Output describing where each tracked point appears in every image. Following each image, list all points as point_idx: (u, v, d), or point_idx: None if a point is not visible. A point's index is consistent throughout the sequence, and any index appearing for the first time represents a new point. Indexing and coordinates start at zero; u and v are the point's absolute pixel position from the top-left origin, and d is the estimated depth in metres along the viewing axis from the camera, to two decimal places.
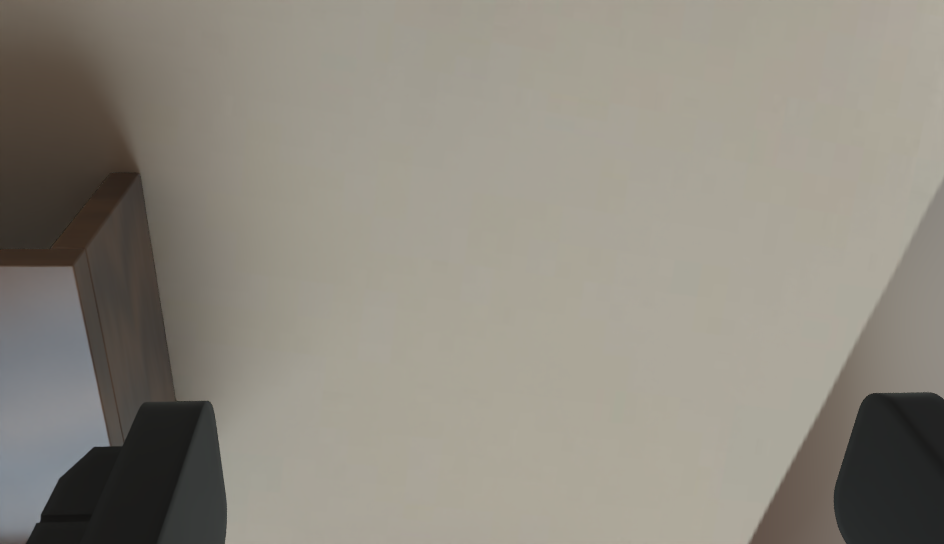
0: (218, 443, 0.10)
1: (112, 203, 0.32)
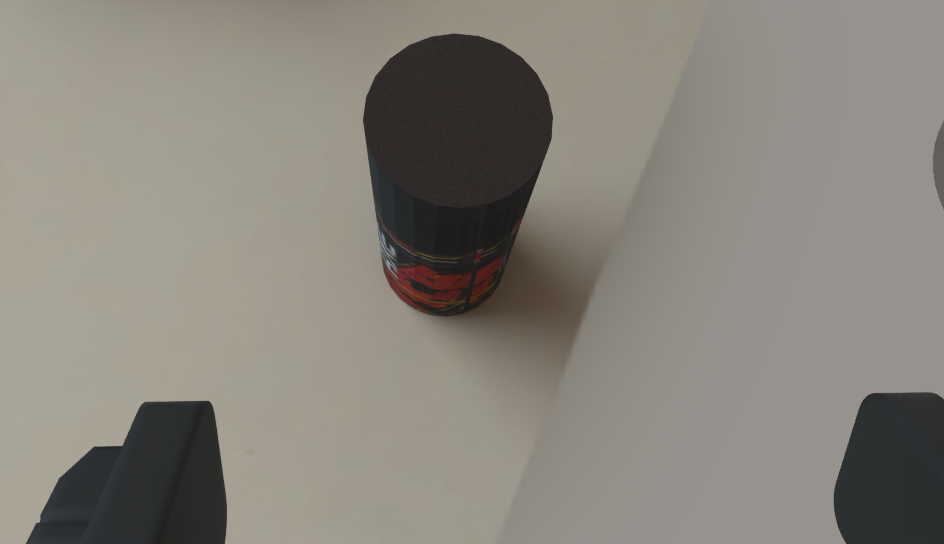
0: (218, 443, 0.10)
1: None
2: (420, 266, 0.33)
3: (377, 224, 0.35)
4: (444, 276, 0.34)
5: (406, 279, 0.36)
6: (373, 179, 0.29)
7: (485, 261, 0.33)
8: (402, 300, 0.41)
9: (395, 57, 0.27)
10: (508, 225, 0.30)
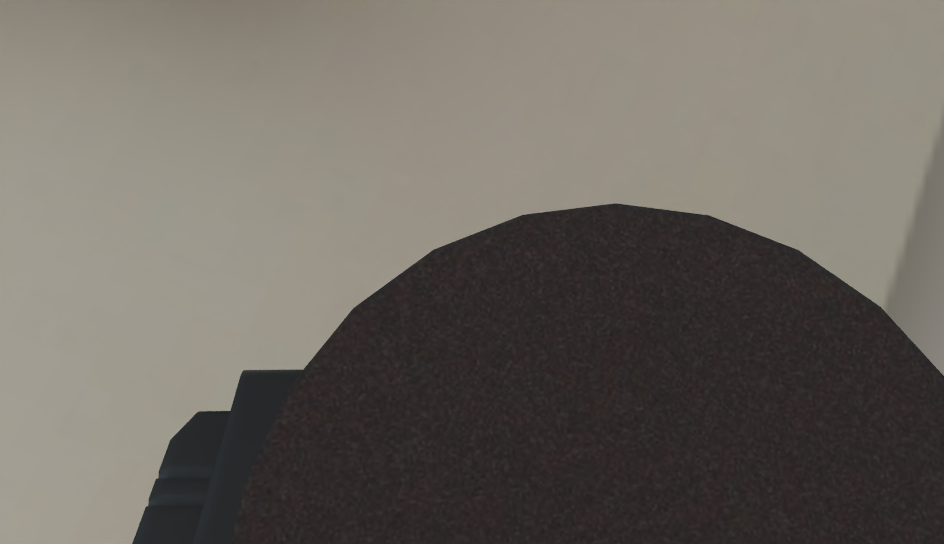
0: None
1: None
2: None
3: None
4: None
5: None
6: None
7: None
8: None
9: (378, 304, 0.07)
10: None
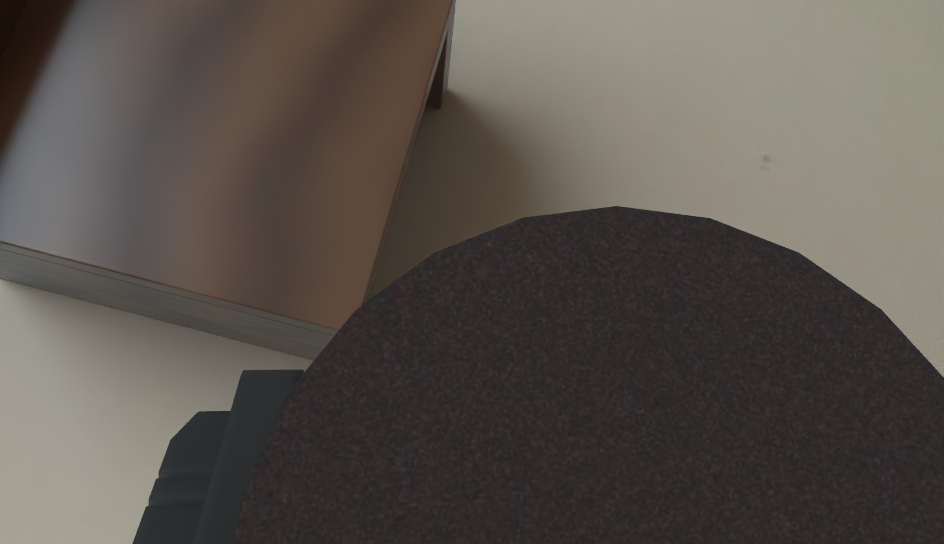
0: None
1: None
2: None
3: None
4: None
5: None
6: None
7: None
8: None
9: (379, 307, 0.07)
10: None
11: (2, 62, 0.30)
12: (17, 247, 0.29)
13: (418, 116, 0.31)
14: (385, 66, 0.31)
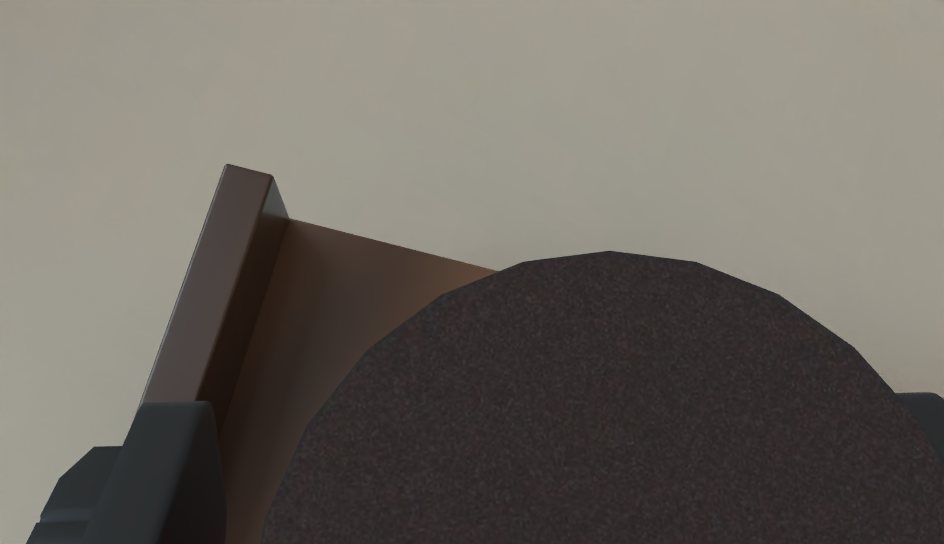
0: (218, 443, 0.10)
1: None
2: None
3: None
4: None
5: None
6: None
7: None
8: None
9: (389, 346, 0.07)
10: None
11: None
12: None
13: None
14: None
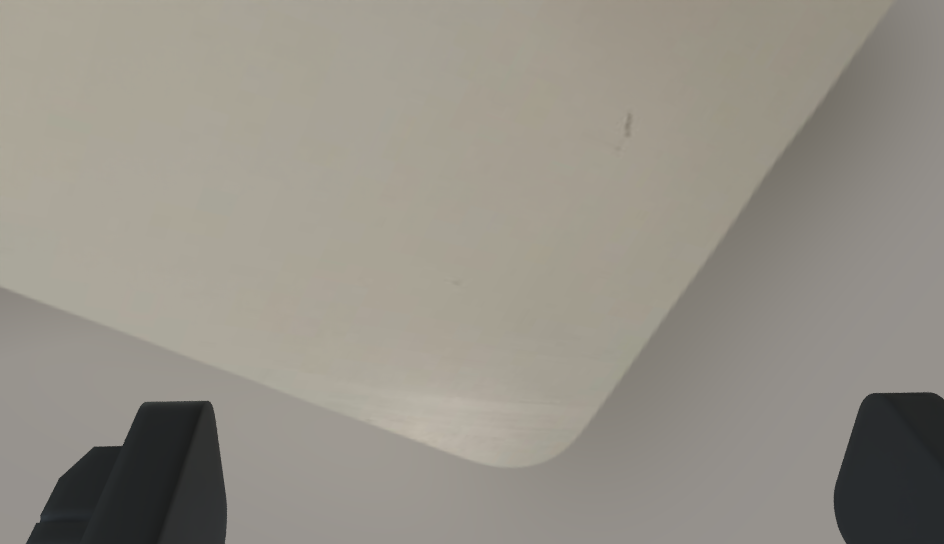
0: (217, 443, 0.10)
1: None
2: None
3: None
4: None
5: None
6: None
7: None
8: None
9: None
10: None
11: None
12: None
13: None
14: None
